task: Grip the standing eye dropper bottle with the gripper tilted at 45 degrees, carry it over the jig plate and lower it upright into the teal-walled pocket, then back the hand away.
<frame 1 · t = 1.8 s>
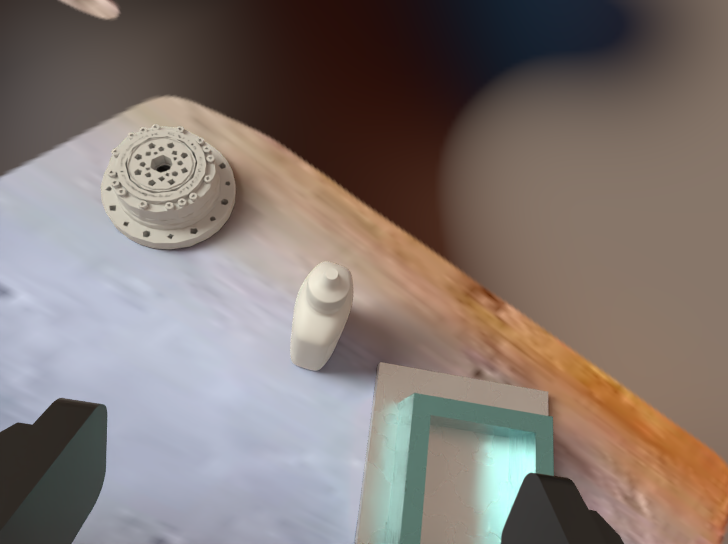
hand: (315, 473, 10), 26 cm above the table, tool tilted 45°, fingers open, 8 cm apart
mechanical component: (173, 196, 41), on the table
jig: (454, 493, 35), on the table
eye dropper bottle: (315, 335, 38), on the table
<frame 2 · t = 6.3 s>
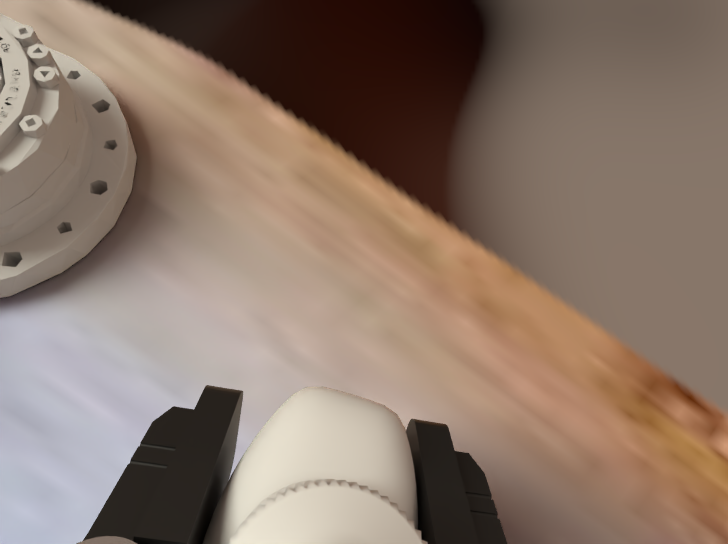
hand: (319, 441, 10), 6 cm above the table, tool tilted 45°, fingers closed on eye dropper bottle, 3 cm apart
eye dropper bottle: (293, 525, 15), on the table, touching gripper
when the fingers open (8 cm above the table, at t = 11.6 s): eye dropper bottle drops 1 cm, resting on jig.
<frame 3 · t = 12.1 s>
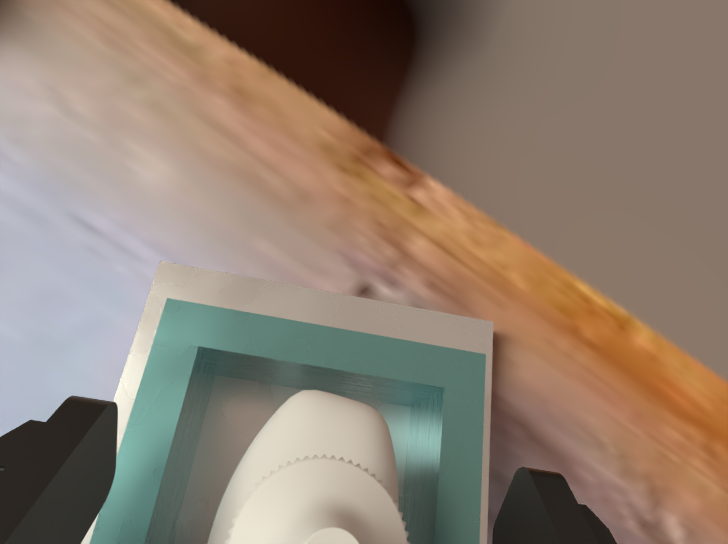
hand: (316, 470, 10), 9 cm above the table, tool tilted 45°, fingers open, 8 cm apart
jig: (291, 520, 17), on the table
eye dropper bottle: (290, 526, 16), point 1 cm above the table, touching jig
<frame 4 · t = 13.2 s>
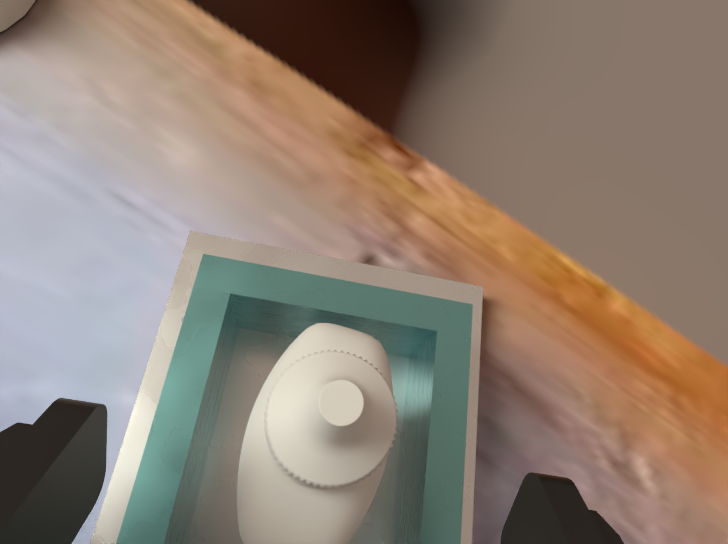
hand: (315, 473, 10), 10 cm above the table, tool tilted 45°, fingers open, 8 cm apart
jig: (305, 453, 19), on the table
eye dropper bottle: (305, 455, 19), point 1 cm above the table, touching jig
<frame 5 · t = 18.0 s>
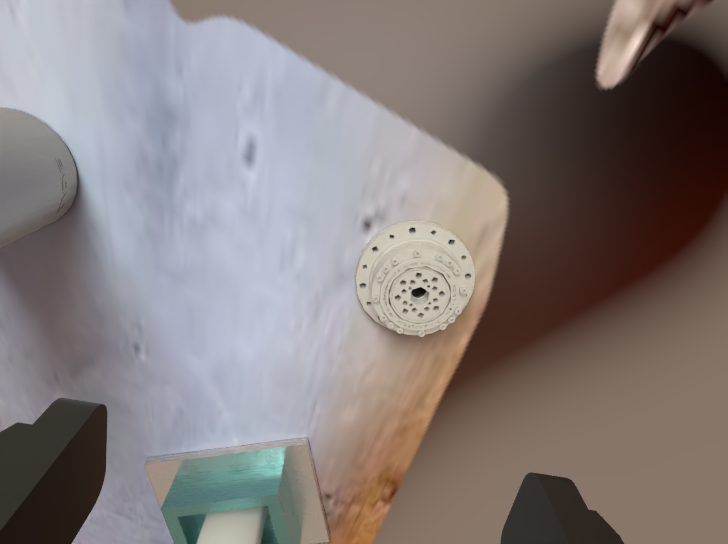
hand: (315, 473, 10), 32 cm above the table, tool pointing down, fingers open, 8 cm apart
mechanical component: (413, 274, 43), on the table
jig: (242, 497, 51), on the table
eye dropper bottle: (239, 503, 51), point 1 cm above the table, touching jig
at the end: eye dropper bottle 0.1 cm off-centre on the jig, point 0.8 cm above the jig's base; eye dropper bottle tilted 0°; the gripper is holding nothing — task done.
